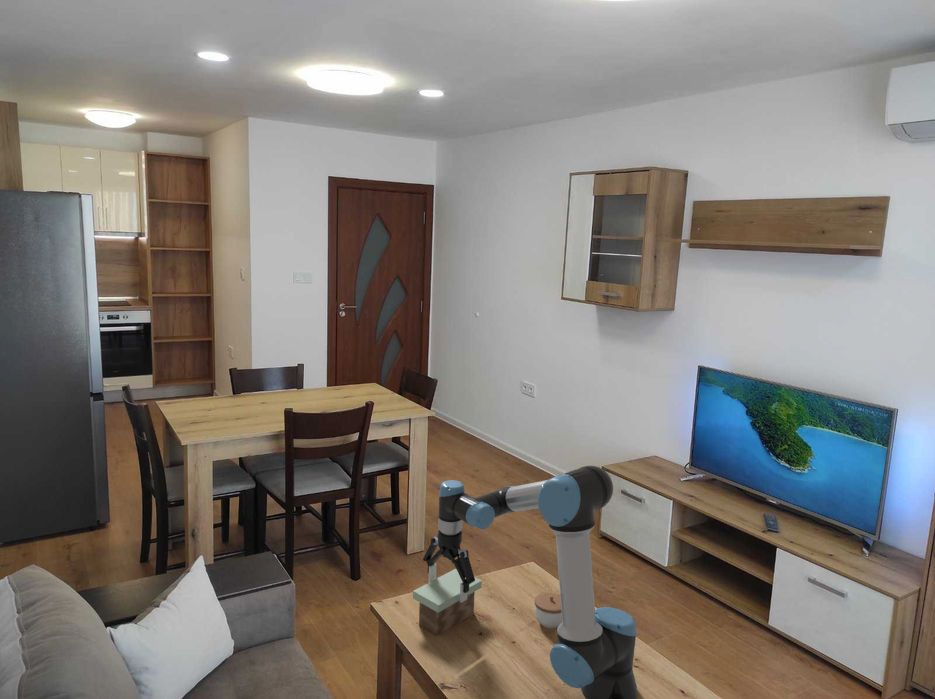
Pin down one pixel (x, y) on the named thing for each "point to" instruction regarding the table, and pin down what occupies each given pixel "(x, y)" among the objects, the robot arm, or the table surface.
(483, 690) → the table surface
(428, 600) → the lid
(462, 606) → the box
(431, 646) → the table surface
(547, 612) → the lidded jar
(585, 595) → the robot arm
